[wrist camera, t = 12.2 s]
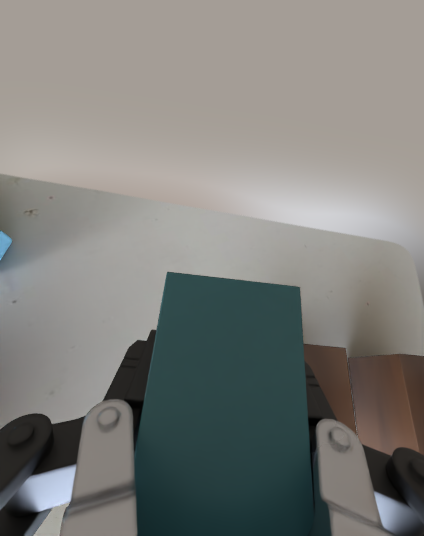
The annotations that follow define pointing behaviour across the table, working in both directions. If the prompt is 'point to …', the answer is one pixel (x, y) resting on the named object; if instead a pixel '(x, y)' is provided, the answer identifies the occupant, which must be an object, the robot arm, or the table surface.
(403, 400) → the walnut block
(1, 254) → the data package
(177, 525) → the teal block
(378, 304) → the table surface
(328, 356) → the walnut block
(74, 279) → the table surface
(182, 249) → the table surface
